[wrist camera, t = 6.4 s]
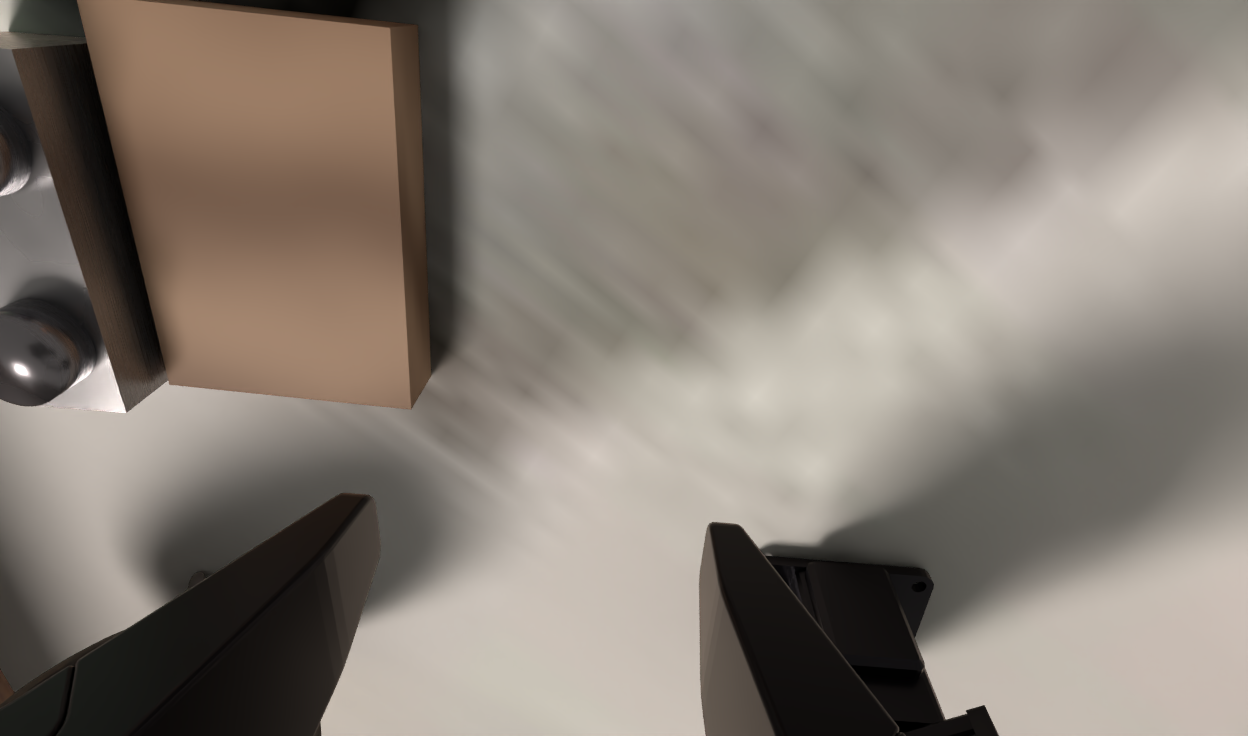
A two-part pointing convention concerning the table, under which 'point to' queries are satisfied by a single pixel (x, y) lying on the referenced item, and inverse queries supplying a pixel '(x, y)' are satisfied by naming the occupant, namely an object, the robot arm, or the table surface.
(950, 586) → the table surface
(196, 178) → the tan rectangular slab
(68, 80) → the grey boxy piece
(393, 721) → the table surface
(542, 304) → the table surface
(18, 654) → the table surface
